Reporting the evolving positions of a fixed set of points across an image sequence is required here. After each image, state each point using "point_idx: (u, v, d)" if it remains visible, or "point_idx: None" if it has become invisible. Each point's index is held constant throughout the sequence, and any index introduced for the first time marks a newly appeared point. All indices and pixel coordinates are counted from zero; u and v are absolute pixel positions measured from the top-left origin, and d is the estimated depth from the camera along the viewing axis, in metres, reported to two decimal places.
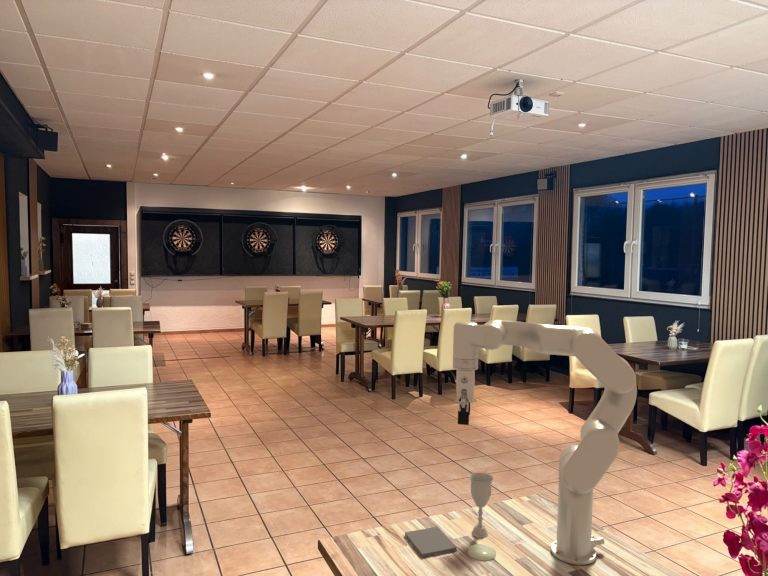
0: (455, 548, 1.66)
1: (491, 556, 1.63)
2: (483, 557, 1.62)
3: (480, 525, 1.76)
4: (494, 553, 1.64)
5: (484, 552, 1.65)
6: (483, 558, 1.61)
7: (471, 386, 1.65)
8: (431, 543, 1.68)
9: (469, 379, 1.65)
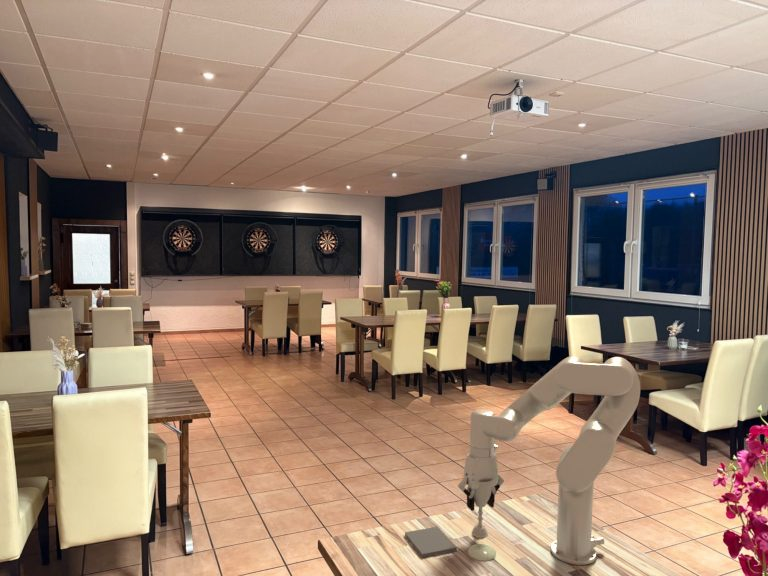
0: (455, 548, 1.66)
1: (491, 555, 1.63)
2: (484, 557, 1.62)
3: (480, 525, 1.76)
4: (494, 552, 1.65)
5: (484, 552, 1.65)
6: (484, 558, 1.61)
7: None
8: (431, 543, 1.68)
9: None
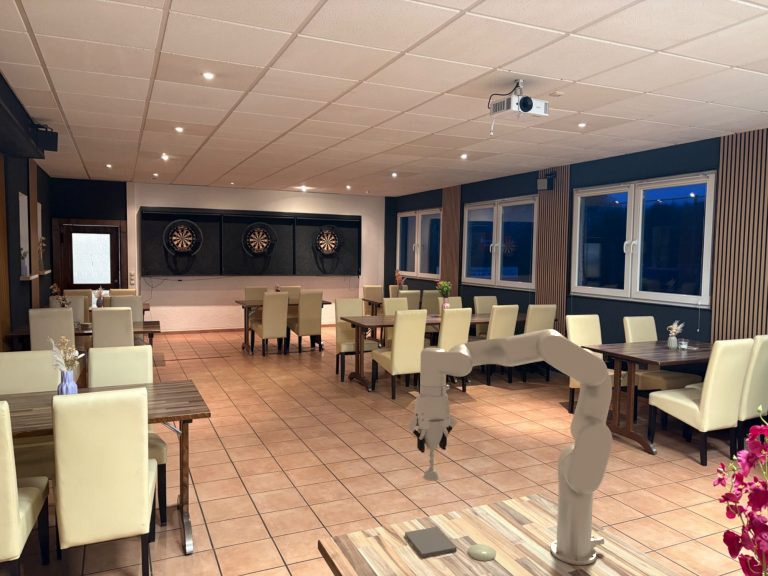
0: (455, 548, 1.66)
1: (493, 555, 1.63)
2: (486, 557, 1.62)
3: (431, 468, 1.68)
4: (494, 551, 1.65)
5: (484, 551, 1.65)
6: (486, 558, 1.62)
7: None
8: (431, 543, 1.68)
9: None
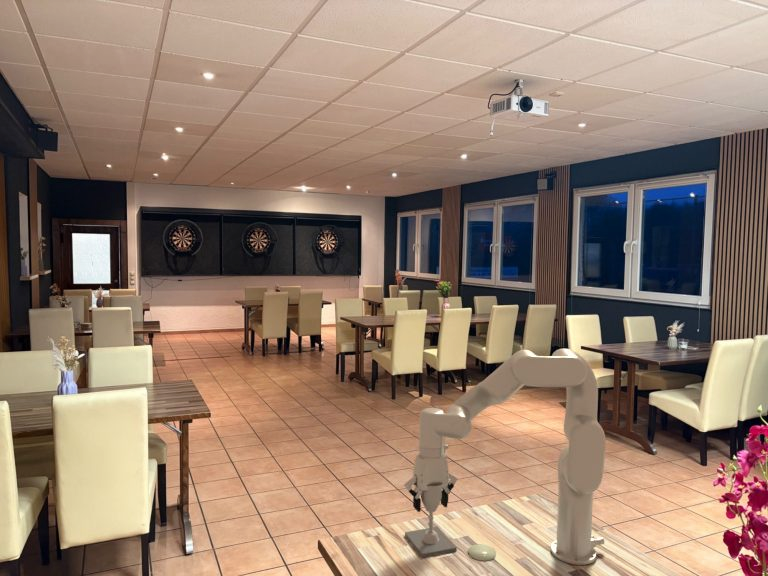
0: (455, 548, 1.66)
1: (493, 553, 1.64)
2: (488, 556, 1.62)
3: (431, 531, 1.70)
4: (493, 550, 1.66)
5: (484, 551, 1.65)
6: (488, 557, 1.62)
7: None
8: None
9: None
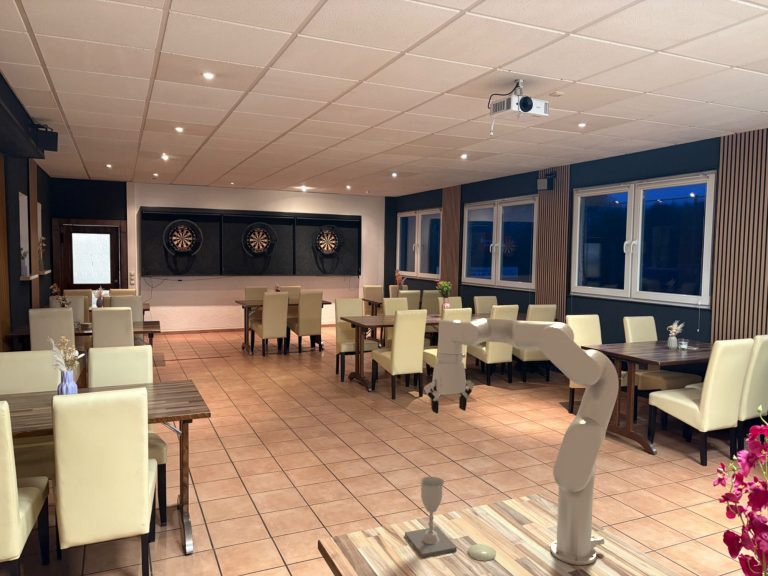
0: (455, 548, 1.66)
1: (494, 553, 1.65)
2: (489, 556, 1.63)
3: (431, 531, 1.70)
4: (492, 549, 1.67)
5: (484, 551, 1.65)
6: (491, 557, 1.62)
7: None
8: None
9: None
